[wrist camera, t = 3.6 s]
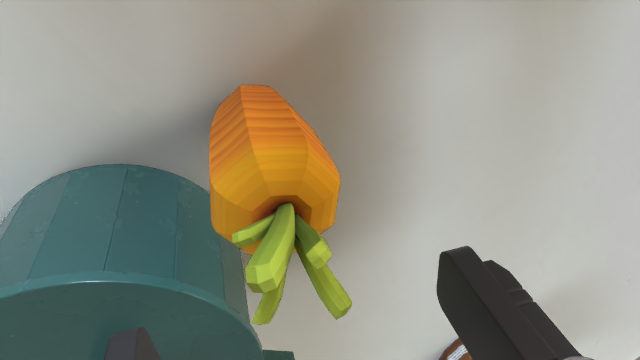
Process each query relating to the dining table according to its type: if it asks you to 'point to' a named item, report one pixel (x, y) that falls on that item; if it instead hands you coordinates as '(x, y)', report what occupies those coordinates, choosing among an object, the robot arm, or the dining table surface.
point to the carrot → (273, 194)
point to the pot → (122, 232)
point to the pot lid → (119, 318)
